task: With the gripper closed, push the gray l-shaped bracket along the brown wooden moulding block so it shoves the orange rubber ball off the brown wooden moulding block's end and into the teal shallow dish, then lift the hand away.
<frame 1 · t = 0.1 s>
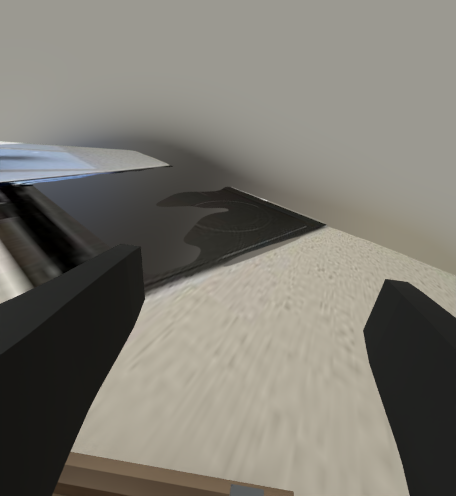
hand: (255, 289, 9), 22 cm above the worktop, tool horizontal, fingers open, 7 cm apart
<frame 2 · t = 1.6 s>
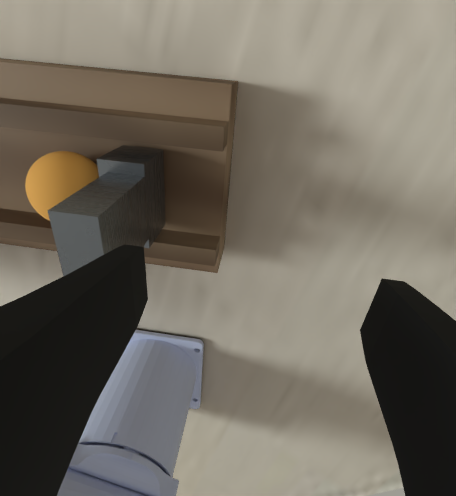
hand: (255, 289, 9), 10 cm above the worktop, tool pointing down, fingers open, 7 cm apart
brown wooden moulding block: (85, 159, 19), on the worktop
gray l-shaped bracket: (118, 213, 13), point 7 cm above the worktop, slide at 0.0 cm
ball: (69, 189, 15), point 5 cm above the worktop, touching brown wooden moulding block
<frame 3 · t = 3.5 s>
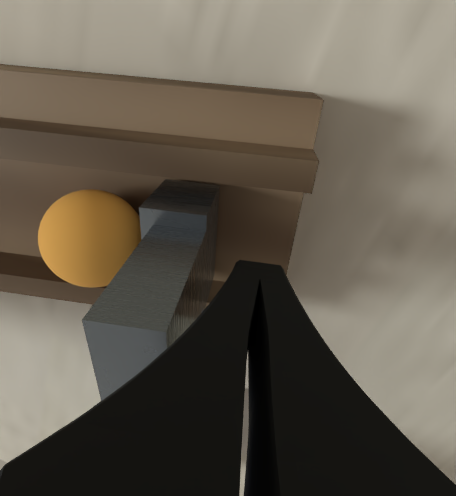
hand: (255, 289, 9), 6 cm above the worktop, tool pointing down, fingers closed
brown wooden moulding block: (108, 188, 15), on the worktop
gray l-shaped bracket: (167, 281, 9), point 7 cm above the worktop, slide at 0.0 cm, touching gripper
ball: (94, 238, 11), point 5 cm above the worktop, touching brown wooden moulding block
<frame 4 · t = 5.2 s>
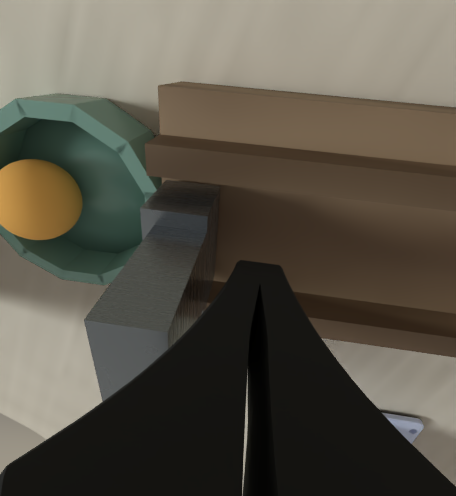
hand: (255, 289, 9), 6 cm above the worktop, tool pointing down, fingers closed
teal shallow dish: (95, 186, 15), on the worktop
brown wooden moulding block: (368, 219, 14), on the worktop
gray l-shaped bracket: (168, 281, 9), point 7 cm above the worktop, slide at 12.7 cm, touching gripper
ball: (38, 200, 13), point 2 cm above the worktop, tilted 160°, touching teal shallow dish
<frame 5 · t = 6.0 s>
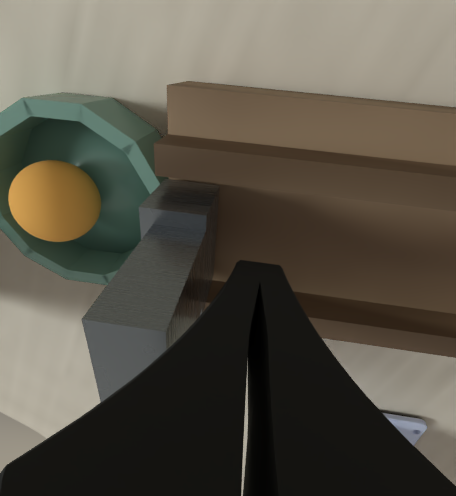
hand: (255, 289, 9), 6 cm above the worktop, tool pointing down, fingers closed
teal shallow dish: (100, 186, 15), on the worktop
brown wooden moulding block: (375, 220, 14), on the worktop
gray l-shaped bracket: (166, 281, 9), point 7 cm above the worktop, slide at 13.0 cm
ball: (57, 201, 13), point 2 cm above the worktop, tilted 179°, touching teal shallow dish
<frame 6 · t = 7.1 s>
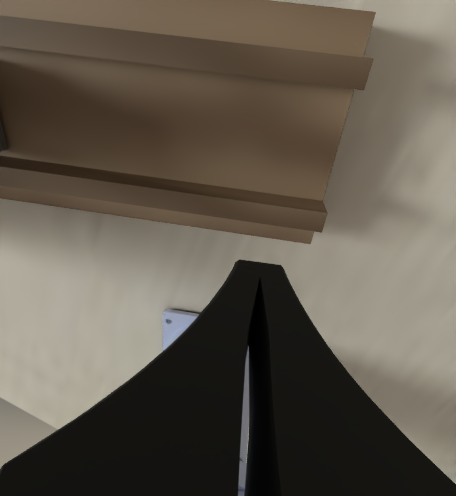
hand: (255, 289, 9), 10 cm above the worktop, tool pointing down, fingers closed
brown wooden moulding block: (163, 115, 17), on the worktop
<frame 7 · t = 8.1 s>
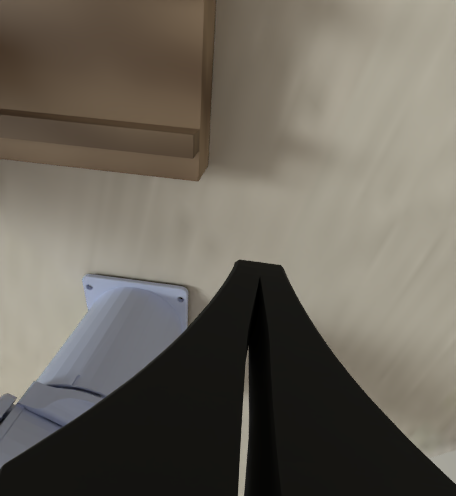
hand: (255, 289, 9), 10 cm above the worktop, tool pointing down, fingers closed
brown wooden moulding block: (43, 52, 16), on the worktop
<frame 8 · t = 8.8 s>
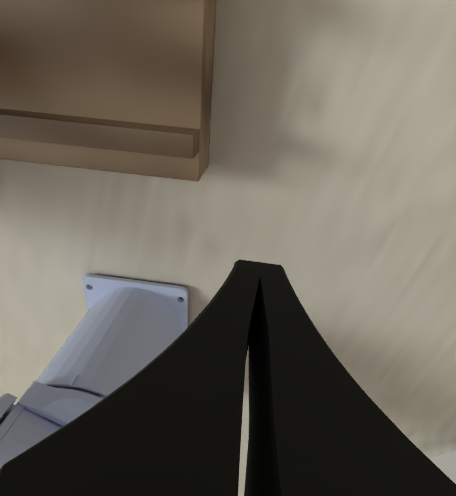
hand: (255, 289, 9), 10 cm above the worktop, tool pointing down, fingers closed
brown wooden moulding block: (43, 52, 16), on the worktop
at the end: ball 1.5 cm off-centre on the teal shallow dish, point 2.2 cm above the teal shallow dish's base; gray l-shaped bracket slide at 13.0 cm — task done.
